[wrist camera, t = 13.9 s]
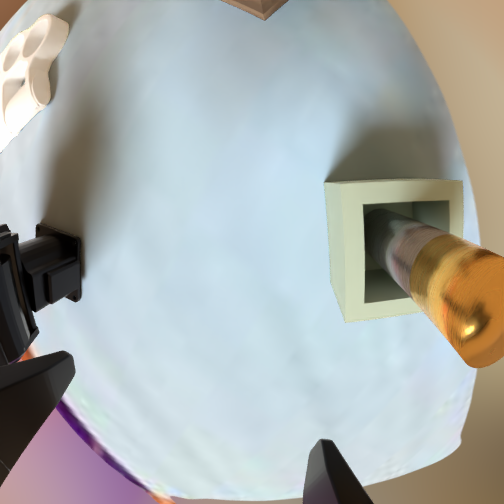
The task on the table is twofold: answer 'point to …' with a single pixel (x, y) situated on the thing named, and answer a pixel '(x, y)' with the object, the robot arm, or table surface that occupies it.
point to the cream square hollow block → (352, 238)
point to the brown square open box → (258, 6)
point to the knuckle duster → (28, 73)
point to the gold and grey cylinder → (444, 281)
